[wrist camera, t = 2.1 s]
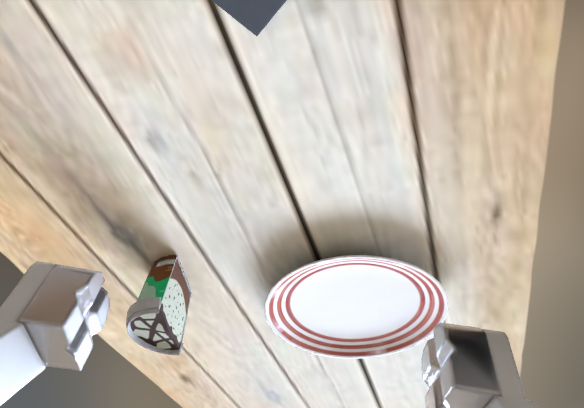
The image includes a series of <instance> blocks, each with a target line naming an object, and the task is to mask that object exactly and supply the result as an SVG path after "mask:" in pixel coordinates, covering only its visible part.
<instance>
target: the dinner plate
mask: <svg viewBox="0 0 584 408" xmlns="http://www.w3.org/2000/svg"><path fill="white" fill-rule="evenodd" d="M447 312H448V298H447V294H446V292H445V290H444V288H443V286H442V285H441V284H440V283H439V282H438V280H436V279H435V278H434V277H433V276H432V275H431V274H429V273H428V272H426V271H424V270H423V269H421V268H419V267H417V266H415V265H412V264H410V263H407V262H404V261H401V260H397V259H393V258H388V257H381V256H372V255H348V256H338V257H331V258H326V259H321V260H318V261H314V262H311V263H309V264H306V265H303V266H301V267H299V268H297V269H295V270H293V271H292V272H290V273H288V274H287V275H286V276H284V277H283V278H282V279H280V280H279V281H278V282H277V283H276V284H275V285H274V287H273V288H272V289H271V291H270V292H269V294H268V296H267V298H266V302H265V317H266V320H267V322H268V324H269V326H270V327H271V329H272V330H273V331H274V332H275V333H276V334H277V335H278V336H279V337H280V338H282V339H283V340H284V341H286V342H287V343H289V344H291V345H292V346H294V347H296V348H299V349H301V350H304V351H306V352H309V353H313V354H316V355H321V356H326V357H333V358H346V359H357V358H371V357H378V356H384V355H389V354H393V353H396V352H400V351H403V350H406V349H408V348H410V347H413V346H415V345H417V344H419V343H421V342H422V341H424V340H426V339H427V338H429V337H430V336H431V335H433V334H434V333H433V330H434V328H435V326H436V325H437V324H439V323H443V322H444V320H445V318H446V316H447Z"/></svg>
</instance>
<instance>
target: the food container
mask: <svg viewBox="0 0 584 408" xmlns="http://www.w3.org/2000/svg"><path fill="white" fill-rule="evenodd" d="M191 293H192V292H191V290H190V287H189V284H188V282H187V279H186V277H185V274H184V271H183V269H182V266H181V264H180V261H179V258H178V256H177V255H172V256H167V257H163V258H160V259H159V260H157V261H156V262H154V264H153V266H152V267H151V270H150V272H149V274H148V277H147V279H146V282H145V284H144V286H143V289H142V291H141V293H140V296H139V298H138V300H137V302H136V303H134V304H133V305H132V306H131V307H130V308H129V310H128V312H127V322H126V325H127V331H128V334H129V336H130V337H131V338H132V339H133V340H134V341H135V342H136V343H138V344H139V345H141V346H143V347H145V348H147V349H149V350H152V351H155V352H159V353H163V354H169V355H180V352H181V350H182V346H183V343H182V340H183V335H184V330H185V324H186V319H187V314H188V308H189V303H190V298H191Z"/></svg>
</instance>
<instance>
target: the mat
mask: <svg viewBox="0 0 584 408" xmlns="http://www.w3.org/2000/svg"><path fill="white" fill-rule="evenodd" d="M212 1H213V2H215V3H216V4H217V5H218V6H220V7H221V8H222V9H223V10H225V11H226V12H227V13H228V14H230V15H231V16H232V17H233V18H235V19H236V20H237V21H238V22H240V23H241V24H242V25H243V26H245V27H246V28H247V29H248V30H250V31H251V32H252V33H253V34H255V35H256V36H257V35H258V34H259V33H260V32H261V31H262V29H263V28H264V27H265V26H266V25H267V23H268V22H269V21H270V20H271V18H272V17H273V16H274V15H275V14H276V12H277V11H278V10H279V9H280V8H281V6H282V5H283V4H284V3H285V2H286V0H212Z"/></svg>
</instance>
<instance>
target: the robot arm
mask: <svg viewBox="0 0 584 408" xmlns="http://www.w3.org/2000/svg"><path fill="white" fill-rule="evenodd" d="M104 281H105V280H104V277H103V274H102V272H98V271H93V270H87V269H81V268H75V267H69V266H63V265H58V264H51V263H45V262H38V261H37V262H36V263H35V264H33V265H32V266H30V268H29V269H28V270H27V272H26V273H25V274H24V276H23V277H22V279H21V280H20V281H19V283H18V284H17V286H16V287H15V288H14V290H13V291H12V292H11V294H10V295H9V297H8V298H7V299H6V301H5V302H4V303H3V305H2V306H1V307H0V405H2V404H3V403H4V402H5V401H6V400H8V399H9V398H10V397H11V396H12V395H13V394H15V393H16V392H17V391H18V390H20V389H21V388H22V387H23V386H25V385H26V384H27V383H28V382H29V381H31V380H32V379H33V378H34V377H35V376H37V375H38V374H39V373H40V372H42V371H43V370H44V369H45V368H46V367H45V366H50V367H57V368H66V369H74V370H81V369H82V367H83V365H84V363H85V361H86V359H87V357H88V355H89V353H90V351H91V349H92V347H93V342H92V338H91V336H92V335H94V334H95V333H97V332H98V331H100V330H101V329H102V327H103V325H104V323H105V321H106V319H107V315H108V311H109V307H110V298H109V294H108V292H107V291H106V290H105V289H104V288H102V285H103V283H104ZM433 333H434V338H433V339H431V340H428V341H427V343H426V345H425V347H424V350H423V356H422V376H423V380H424V381H425V382H426V384H427V385H428V386H429V388H430V389H429V391H428V392H427V394H426V396H425V403H426V408H538V407H537V406H536V405H535V404H534V402H532V401H527V400H526V398H525V394H524V391H523V388H522V384H521V381H520V377H519V374H518V371H517V367H516V364H515V360H514V357H513V353H512V350H511V347H510V343H509V340H508V337H507V336H506V334H505V333H504V332H501V331H493V330H485V329H481V328H476V327H469V326H461V325H454V324H447V323H439V324H437V325H436V326H435V328H434V330H433Z"/></svg>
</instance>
